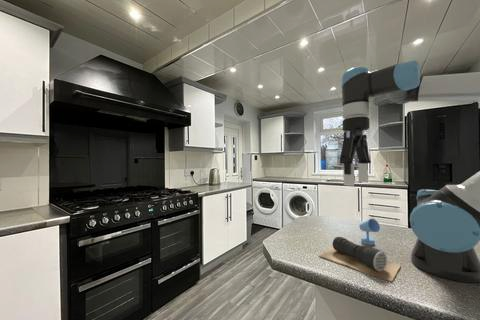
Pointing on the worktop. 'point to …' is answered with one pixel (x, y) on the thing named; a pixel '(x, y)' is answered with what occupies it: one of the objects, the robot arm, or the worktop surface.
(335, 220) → the worktop surface
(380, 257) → the flashlight
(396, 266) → the mat
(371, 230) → the spotlight
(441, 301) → the worktop surface
